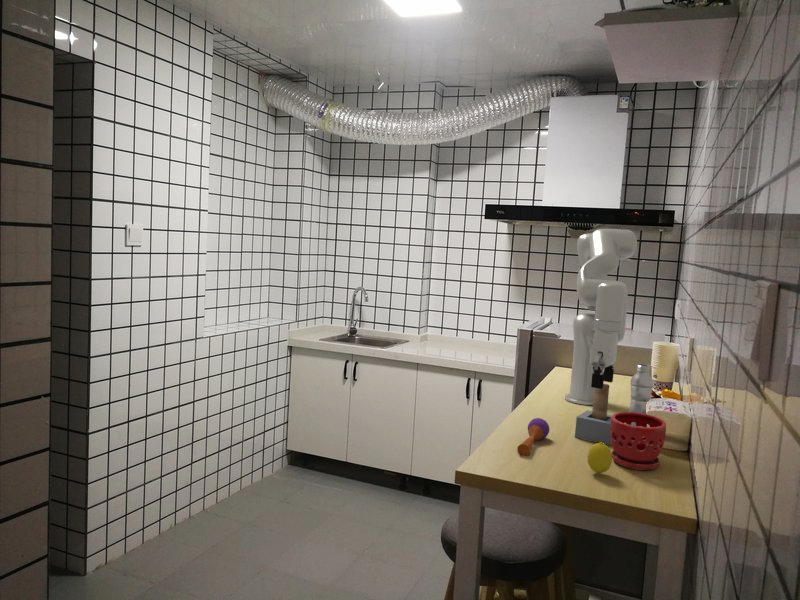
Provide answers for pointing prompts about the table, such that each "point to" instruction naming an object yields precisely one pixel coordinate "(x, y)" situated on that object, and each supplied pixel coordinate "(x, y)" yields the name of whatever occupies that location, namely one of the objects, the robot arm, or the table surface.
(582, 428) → the socket
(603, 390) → the peg
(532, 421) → the purple maraca
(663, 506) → the table surface
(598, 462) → the lemon
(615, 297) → the robot arm
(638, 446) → the plant pot
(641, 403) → the plastic bottle
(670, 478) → the table surface
